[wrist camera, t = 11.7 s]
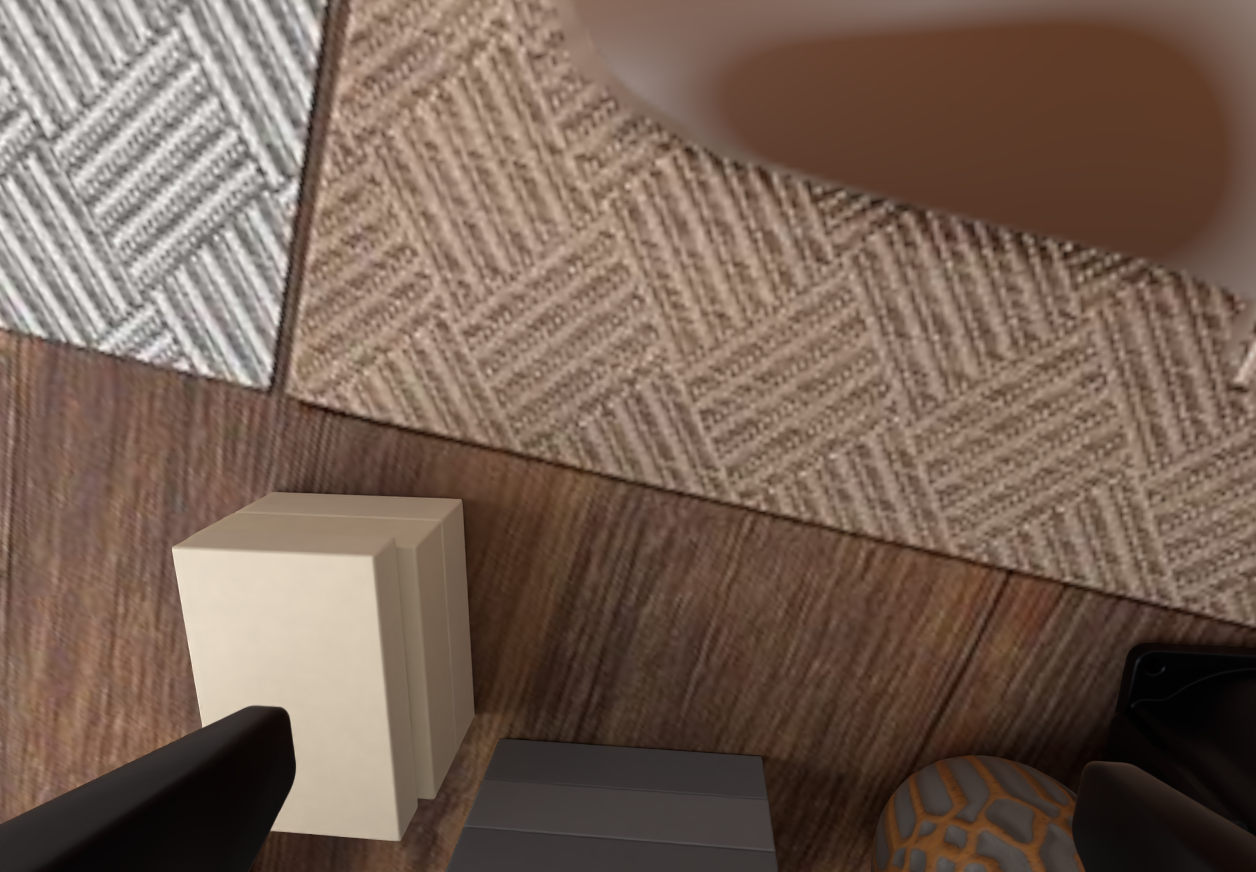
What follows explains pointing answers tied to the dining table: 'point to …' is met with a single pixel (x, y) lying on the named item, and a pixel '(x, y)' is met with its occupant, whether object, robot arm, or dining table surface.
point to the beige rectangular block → (404, 602)
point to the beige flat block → (309, 665)
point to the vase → (977, 820)
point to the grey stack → (616, 812)
